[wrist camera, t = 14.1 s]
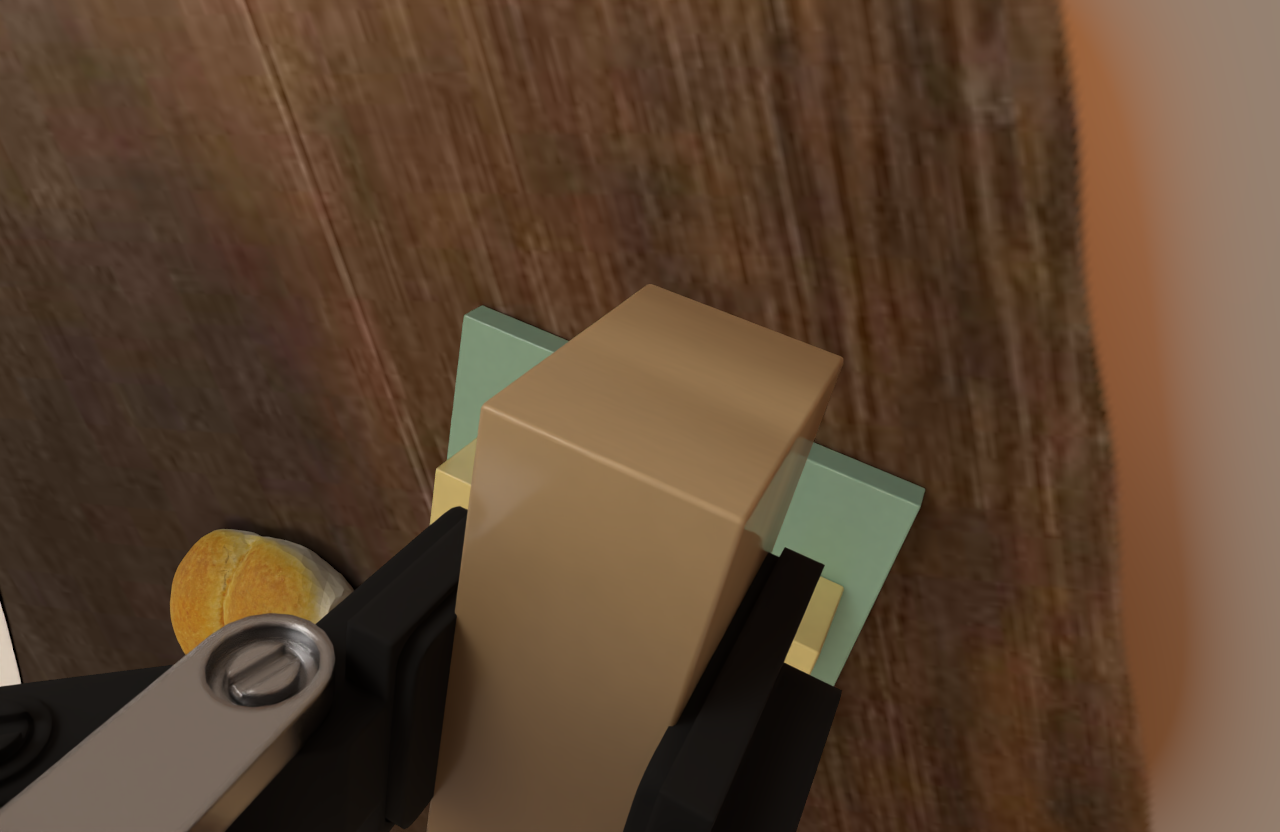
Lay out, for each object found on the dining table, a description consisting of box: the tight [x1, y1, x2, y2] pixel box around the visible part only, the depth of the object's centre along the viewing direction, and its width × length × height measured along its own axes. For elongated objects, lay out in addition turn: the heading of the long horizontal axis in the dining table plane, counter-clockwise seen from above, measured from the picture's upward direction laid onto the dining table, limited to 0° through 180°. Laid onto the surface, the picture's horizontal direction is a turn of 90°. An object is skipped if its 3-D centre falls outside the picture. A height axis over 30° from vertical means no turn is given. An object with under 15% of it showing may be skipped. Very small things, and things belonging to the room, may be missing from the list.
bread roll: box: [170, 529, 354, 655], centre depth 36 cm, size 8×9×4 cm
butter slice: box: [784, 576, 844, 675], centre depth 24 cm, size 4×2×3 cm, turn 167°
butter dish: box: [430, 306, 925, 686], centre depth 26 cm, size 10×14×4 cm
